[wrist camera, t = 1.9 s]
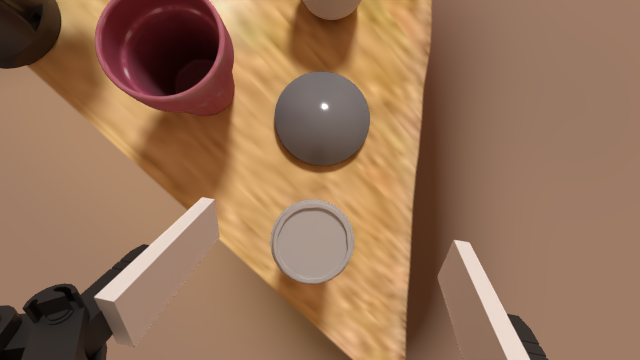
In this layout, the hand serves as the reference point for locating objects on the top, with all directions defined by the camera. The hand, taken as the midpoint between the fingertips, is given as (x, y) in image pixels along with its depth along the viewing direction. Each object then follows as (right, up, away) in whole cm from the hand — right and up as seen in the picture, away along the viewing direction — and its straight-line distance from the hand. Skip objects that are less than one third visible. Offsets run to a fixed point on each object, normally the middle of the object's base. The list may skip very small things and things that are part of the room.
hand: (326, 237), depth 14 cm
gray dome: (0, +13, +27) cm, 30 cm away
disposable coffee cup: (-2, -5, +26) cm, 26 cm away
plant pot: (-19, +18, +27) cm, 37 cm away
